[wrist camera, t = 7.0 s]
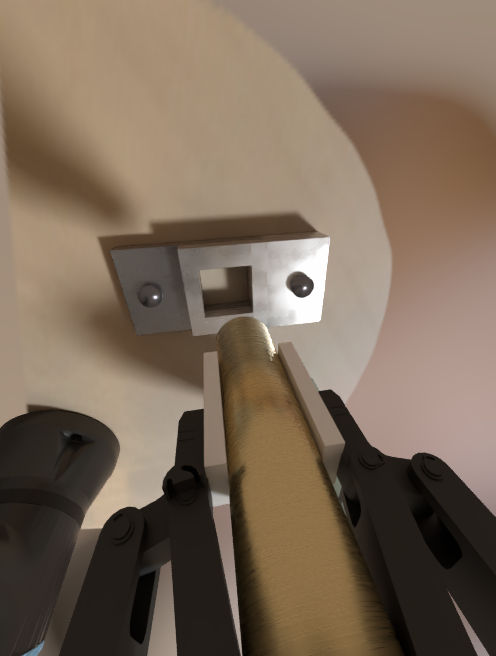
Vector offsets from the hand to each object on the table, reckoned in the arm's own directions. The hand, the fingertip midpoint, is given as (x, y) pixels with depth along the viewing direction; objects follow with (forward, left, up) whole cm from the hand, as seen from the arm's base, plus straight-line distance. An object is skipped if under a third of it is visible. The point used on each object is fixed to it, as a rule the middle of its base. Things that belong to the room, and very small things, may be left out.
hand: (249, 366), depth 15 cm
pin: (0, 0, -3) cm, 3 cm away
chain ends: (0, 0, -15) cm, 15 cm away
